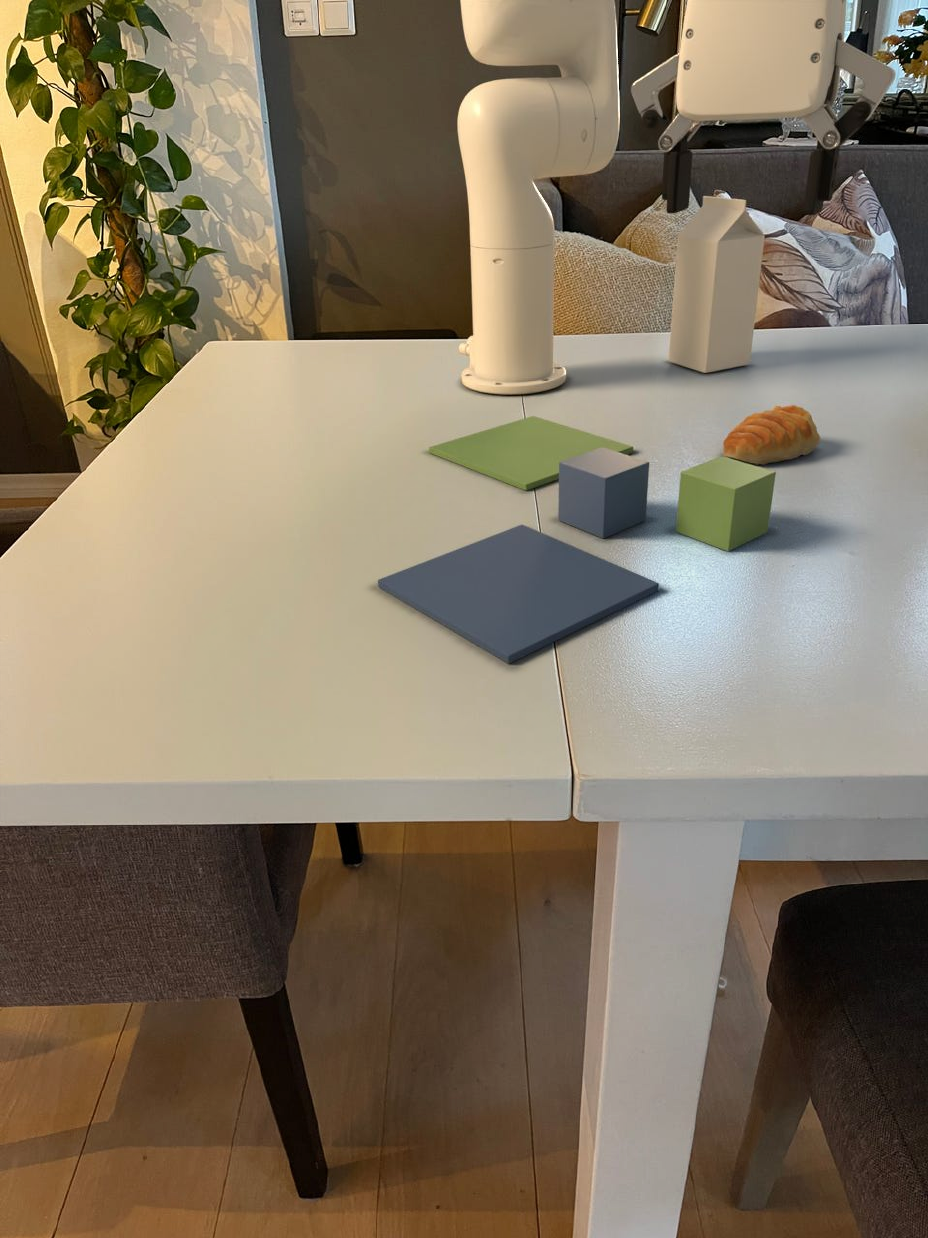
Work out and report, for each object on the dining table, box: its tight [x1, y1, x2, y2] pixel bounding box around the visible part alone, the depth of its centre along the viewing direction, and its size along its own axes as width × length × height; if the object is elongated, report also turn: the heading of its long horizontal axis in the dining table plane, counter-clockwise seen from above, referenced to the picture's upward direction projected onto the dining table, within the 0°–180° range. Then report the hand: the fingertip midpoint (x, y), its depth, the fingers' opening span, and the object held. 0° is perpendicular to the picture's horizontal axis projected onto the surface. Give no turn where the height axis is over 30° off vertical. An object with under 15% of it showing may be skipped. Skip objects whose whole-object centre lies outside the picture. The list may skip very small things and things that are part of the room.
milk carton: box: [668, 195, 766, 374], centre depth 110 cm, size 7×7×19 cm
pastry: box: [722, 404, 821, 466], centre depth 86 cm, size 9×7×4 cm
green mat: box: [428, 415, 634, 492], centre depth 89 cm, size 14×14×1 cm
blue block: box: [557, 447, 650, 539], centre depth 73 cm, size 5×5×5 cm
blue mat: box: [377, 524, 660, 665], centre depth 65 cm, size 14×14×1 cm
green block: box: [675, 455, 777, 552], centre depth 71 cm, size 5×5×5 cm
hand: (743, 211), depth 66 cm, fingers open, 9 cm apart
